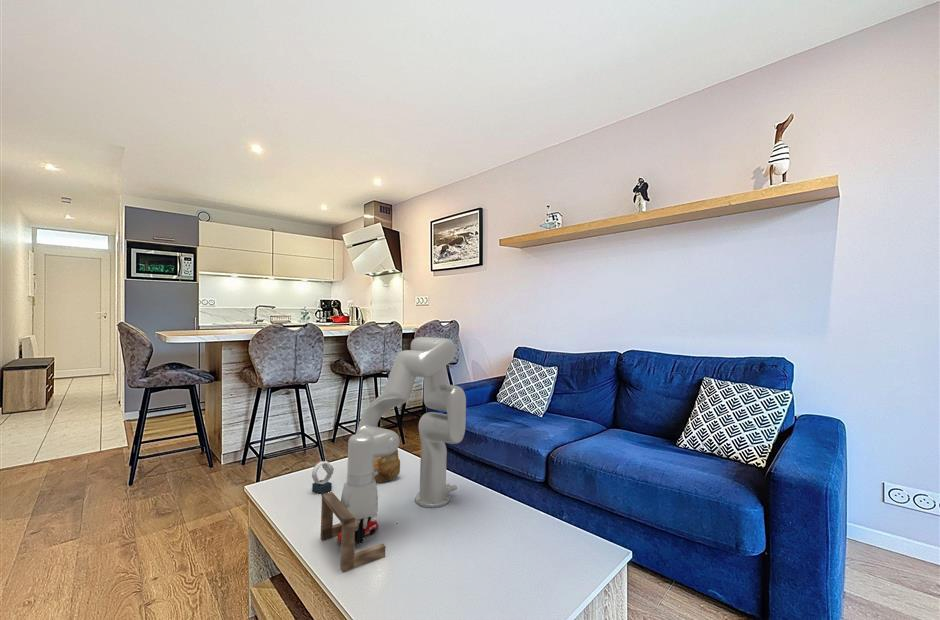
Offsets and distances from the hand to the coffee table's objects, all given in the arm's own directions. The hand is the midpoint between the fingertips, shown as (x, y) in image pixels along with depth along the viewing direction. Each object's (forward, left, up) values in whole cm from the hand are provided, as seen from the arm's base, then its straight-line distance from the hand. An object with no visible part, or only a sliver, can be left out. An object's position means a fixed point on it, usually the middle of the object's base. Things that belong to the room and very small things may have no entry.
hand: (358, 541), depth 116 cm
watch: (-2, -42, -1) cm, 42 cm away
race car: (-2, -5, -2) cm, 5 cm away
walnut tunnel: (+2, 0, -1) cm, 2 cm away
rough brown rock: (-22, -45, -2) cm, 50 cm away
